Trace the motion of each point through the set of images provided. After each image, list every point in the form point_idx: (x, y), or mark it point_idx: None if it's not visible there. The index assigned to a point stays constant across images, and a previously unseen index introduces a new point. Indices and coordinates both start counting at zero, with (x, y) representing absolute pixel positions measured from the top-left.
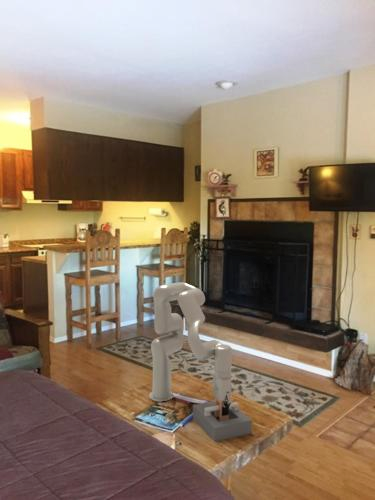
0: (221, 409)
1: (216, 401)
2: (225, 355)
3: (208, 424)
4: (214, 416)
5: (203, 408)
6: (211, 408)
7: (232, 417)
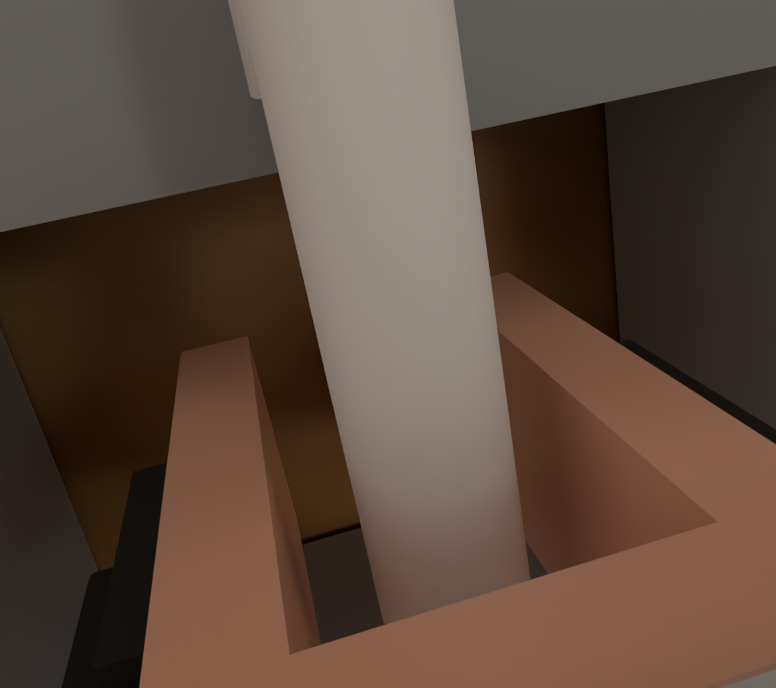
0: (169, 555)
1: (666, 504)
2: None
3: None
4: (630, 297)
5: (755, 4)
6: (302, 158)
7: (353, 626)
